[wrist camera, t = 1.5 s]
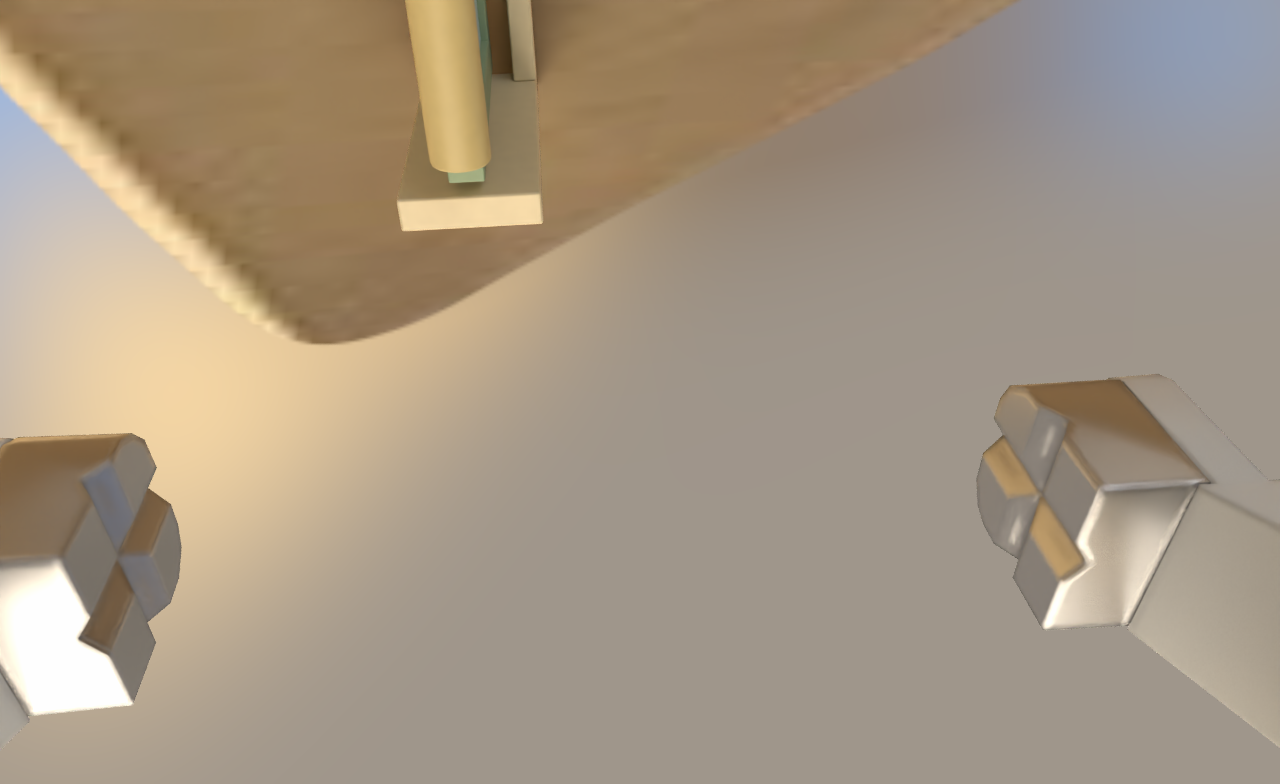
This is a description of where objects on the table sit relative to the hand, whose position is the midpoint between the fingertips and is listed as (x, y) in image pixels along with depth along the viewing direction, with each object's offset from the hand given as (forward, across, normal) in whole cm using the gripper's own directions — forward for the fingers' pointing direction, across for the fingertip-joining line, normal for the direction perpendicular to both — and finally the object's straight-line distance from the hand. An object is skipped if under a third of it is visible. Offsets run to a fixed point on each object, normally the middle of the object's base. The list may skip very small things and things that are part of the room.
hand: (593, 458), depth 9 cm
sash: (+27, +2, +1) cm, 27 cm away
